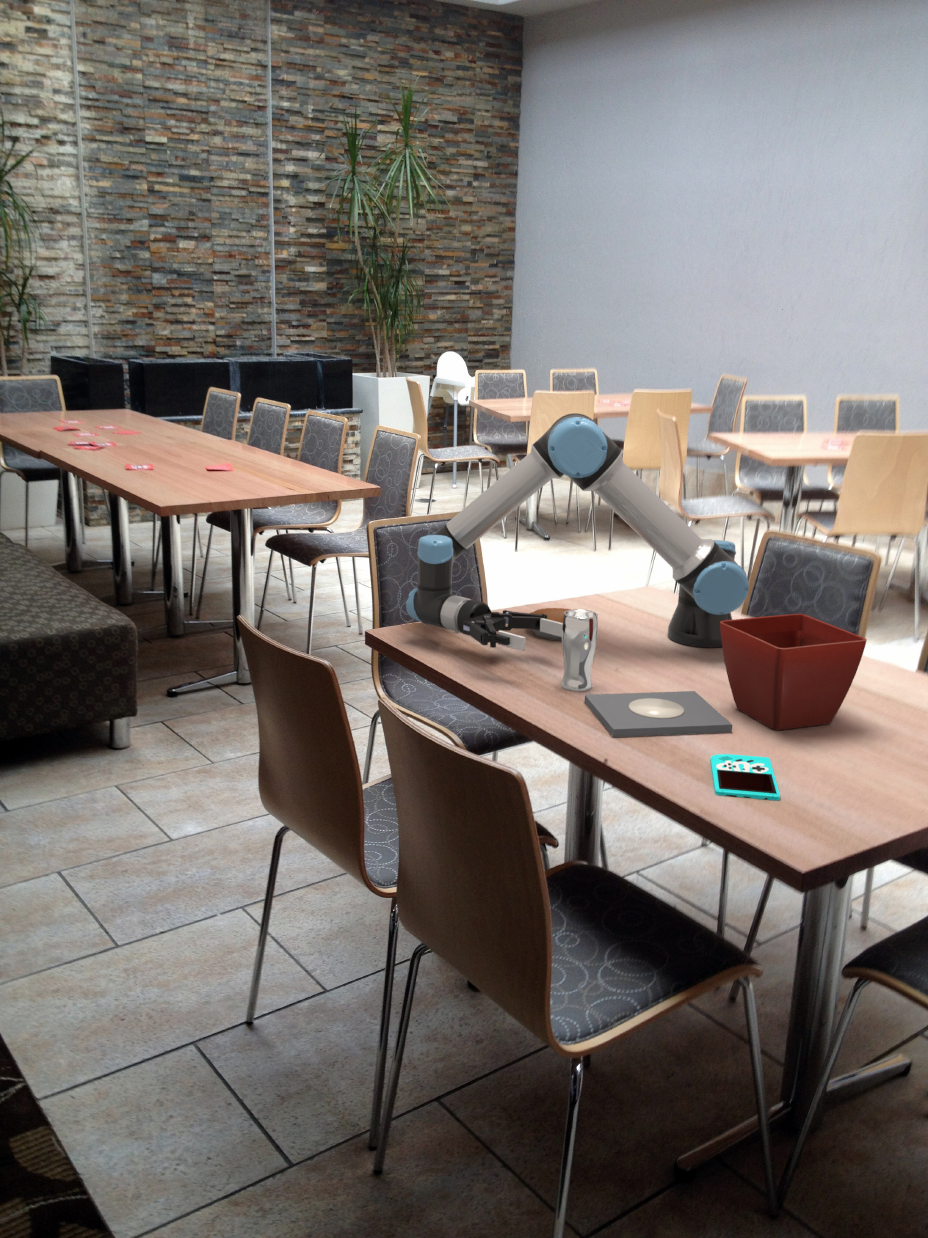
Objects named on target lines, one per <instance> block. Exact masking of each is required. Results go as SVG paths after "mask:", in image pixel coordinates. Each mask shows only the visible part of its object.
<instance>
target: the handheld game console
mask: <svg viewBox="0 0 928 1238" xmlns="http://www.w3.org/2000/svg"><path fill="white" fill-rule="evenodd" d="M709 761H710V769H711V775H712V776H711V777H712V783H713V789H714V794H715V796H722V797H723V796H725V797H726V796H727V797H733V798H745V799H746V798H747V799H755V800H756V799H757V800H769V801H777V802H779V801H781V794H780V790H779V787H778V783H777V780H776V776H775V773H774V769H773V765H772V762H771V758H770V757H768V756H758V755H757V756H756V755H745V754H744V755H743V754H731V753H719V754H713V755H711V756H710V759H709Z"/></svg>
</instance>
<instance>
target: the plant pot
mask: <svg viewBox="0 0 928 1238" xmlns="http://www.w3.org/2000/svg"><path fill="white" fill-rule="evenodd" d="M720 630H721V640H722V653H723V659H724V665H725V670H726V674H727V681H728V683H729V687H730V690H731V695H732V698H733V702H734V704H735V706H736V709H737V710H738V711H740V712H742V713H743V714H745V715H747V716H748V717H750V718H752V719H754V720H756V721H758V722H760V723H761V724H763V725H765V726H766V727H768V728H770V729H772V730H775V731H782V730H789V729H797V728H802V727H803V728H805V727H812V726H821V725H827V724H831V723H832V722H833V720H834V718H835V717H836V715H837V713H838V711H839V710H840V708H841V706H842V704H843V702H844V700H845V698H846V697H847V694H848V693H849V692H850V691H849V690H850V688H851V686H852V684H853V681H854V679H855V676H856V675H857V672H858V669H859V666H860V663H861V661H862V657H863V654H864V651H865V648H866V644H867V640H868V639H867V638H865V637H863V636H860V635H858V634H856V633H853V632H851V631H848V630H846V629H843V628H840V627H837V626H835V625H833V624H830V623H828V622H824V621H822V620H820V619H817V618H814V617H812V616H810V615H807V614H804V613H793V614H779V615H769V616H768V615H767V616H758V617H757V616H754V617H747V618H746V617H745V618H737V619H732V620H724V621H721V622H720Z"/></svg>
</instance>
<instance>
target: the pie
mask: <svg viewBox="0 0 928 1238" xmlns="http://www.w3.org/2000/svg"><path fill="white" fill-rule="evenodd" d="M568 610H572V609H571V608H562V607H549V608H547V607H546V608H540V609H536V610H534V611H532V612H529V613H530V614H541V615H542V614H545V615H547V619H548V620H552V621H556V622H560V623H563V619H564V612H565V611H568ZM531 631H532V632H533V634H534V635H535V636H537V637H539V638H541V639H546V640H550V639H551V640H552V641H562V637H560V636H556V635H552V634H548V633H545V632H541V631H540V629H531Z"/></svg>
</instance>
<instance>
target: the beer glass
mask: <svg viewBox="0 0 928 1238" xmlns="http://www.w3.org/2000/svg"><path fill="white" fill-rule="evenodd" d="M598 617H599V615H598V613H597V612H596V611H592V610H588V609H583V608H582V609H581V608H579V609H571V610H568V611H565V612H564V619H563V626H562V640H561V647H562V655H563V656H562V657H563V665H564V666H563V667H564V668H563V675H562V680H561V684H560V685H561V688H562V689H565V690H567V691H569V692H571V691H572V692H586V691H590V690H591V689H592V688H593V682H592V666H593V661H594V657H595V652H596V649H597V644H598V635H599V633H598V631H599V630H598V629H599V628H598V625H599V624H598V623H599V622H598V621H599V620H598Z"/></svg>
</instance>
